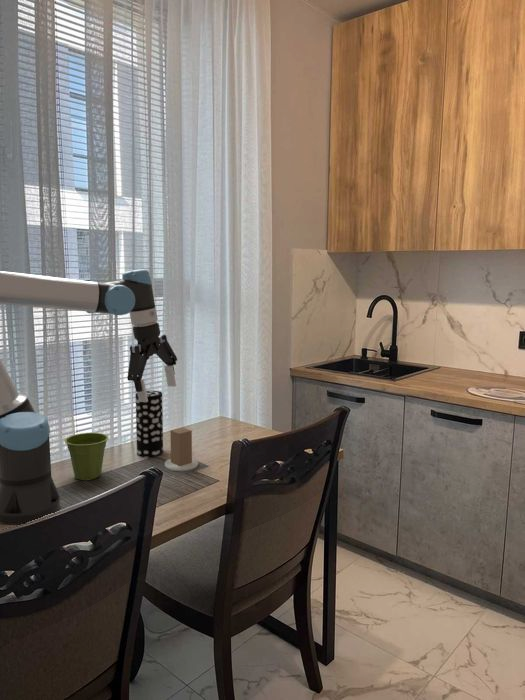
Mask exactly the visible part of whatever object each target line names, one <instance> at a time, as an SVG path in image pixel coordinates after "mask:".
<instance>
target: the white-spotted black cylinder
mask: <svg viewBox="0 0 525 700" xmlns="http://www.w3.org/2000/svg"><path fill="white" fill-rule="evenodd" d="M146 393H147V398H148V402H139V399H138V394H137V392H136V393H135V424H136V427H135V429H136V430H135V431H136V432H135V433H136V455H137V456H138V457H140V458H156V457H160V456H162V455H163V454H164V428H163V425H164V421H163V420H164V419H163V416H164V415H163V413H164V412H163V392H162V391H159V390H146Z"/></svg>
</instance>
